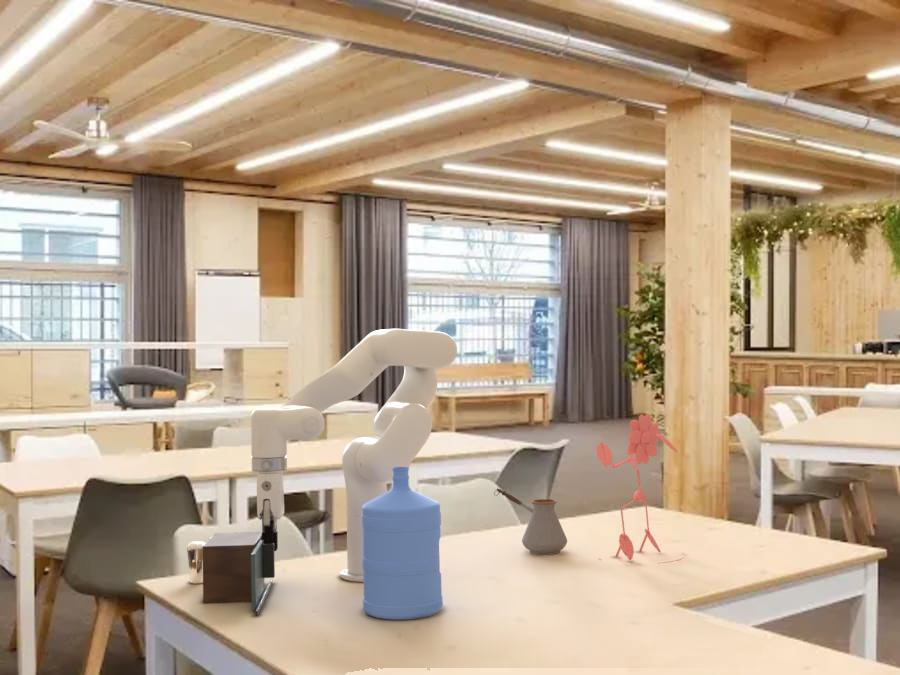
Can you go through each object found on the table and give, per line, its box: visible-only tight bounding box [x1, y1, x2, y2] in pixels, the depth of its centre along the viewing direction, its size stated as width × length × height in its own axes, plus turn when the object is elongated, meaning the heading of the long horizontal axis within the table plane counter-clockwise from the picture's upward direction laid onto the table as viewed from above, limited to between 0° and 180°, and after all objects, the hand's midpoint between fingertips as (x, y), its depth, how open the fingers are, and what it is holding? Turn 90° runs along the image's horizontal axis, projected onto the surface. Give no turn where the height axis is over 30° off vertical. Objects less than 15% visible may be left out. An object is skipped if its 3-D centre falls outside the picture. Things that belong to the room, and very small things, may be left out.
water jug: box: [362, 466, 444, 621], centre depth 194 cm, size 16×16×28 cm
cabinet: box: [202, 531, 273, 617], centre depth 206 cm, size 12×28×12 cm, turn 4°
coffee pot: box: [493, 487, 568, 555], centre depth 254 cm, size 21×12×15 cm, turn 49°
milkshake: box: [186, 537, 211, 585], centre depth 223 cm, size 5×5×10 cm
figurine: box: [595, 413, 687, 565], centre depth 240 cm, size 15×26×35 cm, turn 131°
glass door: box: [251, 540, 276, 610], centre depth 203 cm, size 3×16×11 cm, turn 4°
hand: (269, 550), depth 213 cm, fingers closed
